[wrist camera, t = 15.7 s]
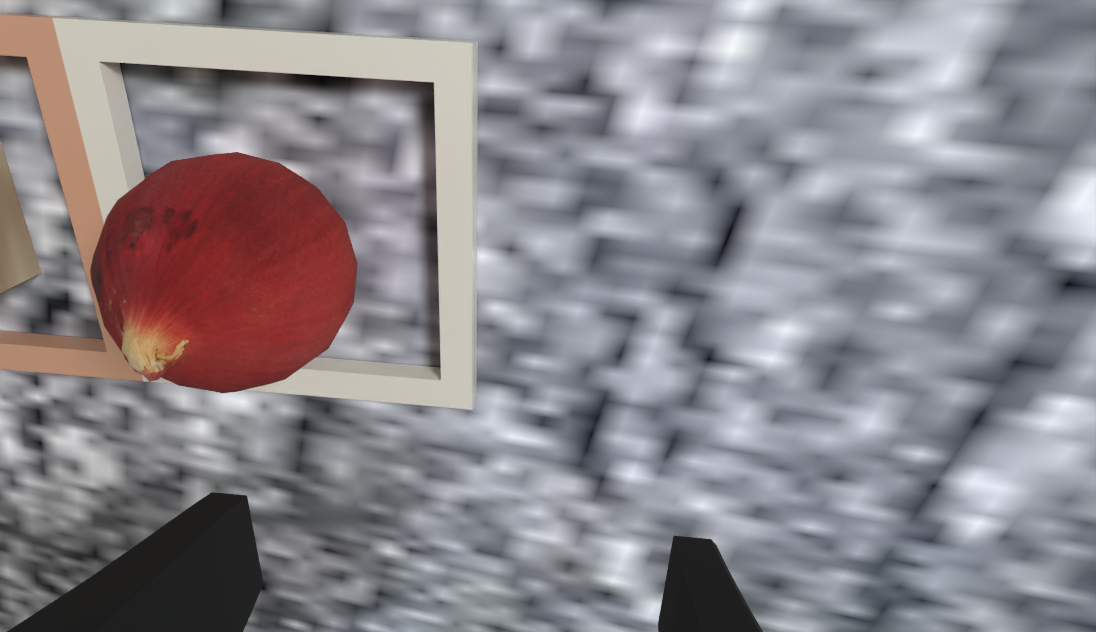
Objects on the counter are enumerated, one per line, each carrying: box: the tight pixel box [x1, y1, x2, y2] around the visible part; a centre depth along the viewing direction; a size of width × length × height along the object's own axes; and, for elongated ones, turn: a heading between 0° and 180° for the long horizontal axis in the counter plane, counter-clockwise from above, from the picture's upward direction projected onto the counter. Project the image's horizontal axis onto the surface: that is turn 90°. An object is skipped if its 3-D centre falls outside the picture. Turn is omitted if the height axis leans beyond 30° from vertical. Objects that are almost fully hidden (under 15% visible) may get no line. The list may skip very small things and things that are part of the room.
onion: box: [90, 152, 357, 393], centre depth 16 cm, size 6×6×8 cm
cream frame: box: [52, 17, 478, 410], centre depth 20 cm, size 11×11×1 cm
